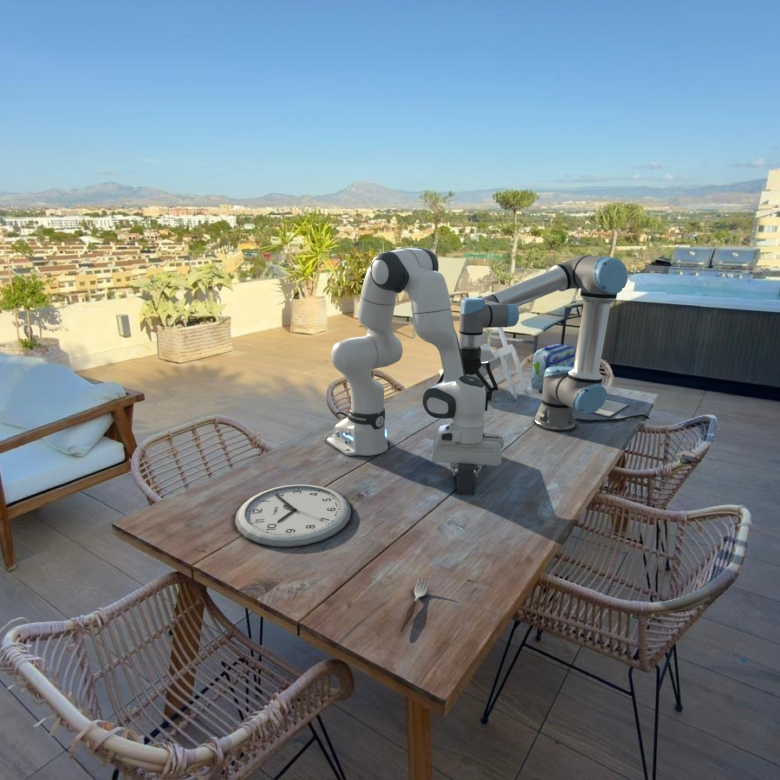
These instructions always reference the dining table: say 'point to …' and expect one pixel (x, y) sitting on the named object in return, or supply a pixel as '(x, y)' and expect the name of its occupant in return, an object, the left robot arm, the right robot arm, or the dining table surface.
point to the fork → (418, 593)
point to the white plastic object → (501, 357)
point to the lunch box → (550, 362)
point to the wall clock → (293, 515)
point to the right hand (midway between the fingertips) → (465, 408)
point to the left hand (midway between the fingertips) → (464, 476)
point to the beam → (465, 478)
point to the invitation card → (610, 408)
